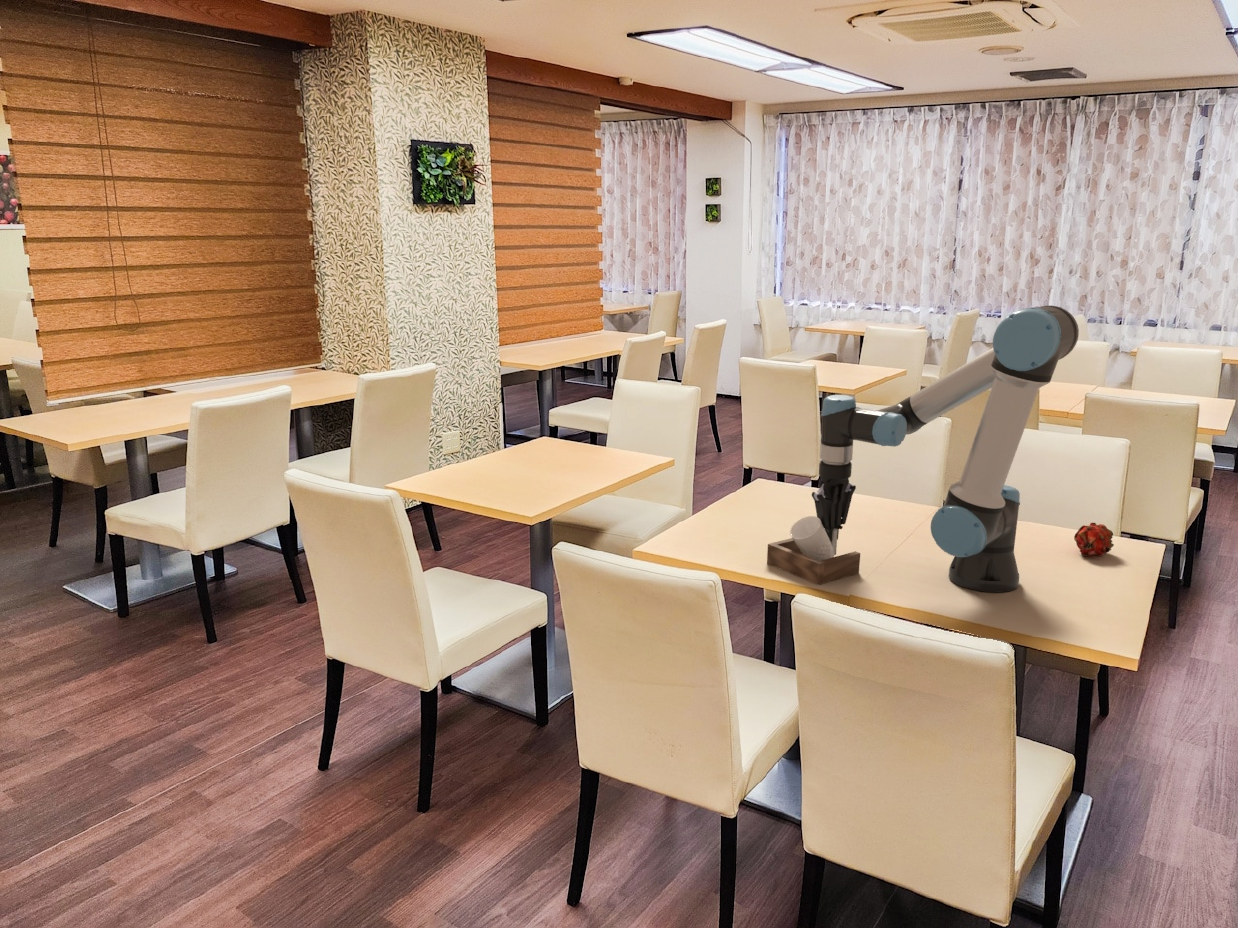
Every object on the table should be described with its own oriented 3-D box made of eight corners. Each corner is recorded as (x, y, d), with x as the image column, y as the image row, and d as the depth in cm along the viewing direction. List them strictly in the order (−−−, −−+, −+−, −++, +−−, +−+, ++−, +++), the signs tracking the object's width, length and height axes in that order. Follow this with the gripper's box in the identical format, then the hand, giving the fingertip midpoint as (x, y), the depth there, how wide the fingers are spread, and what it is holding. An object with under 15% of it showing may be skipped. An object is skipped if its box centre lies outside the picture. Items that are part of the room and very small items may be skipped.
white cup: (837, 563, 220) (820, 532, 216) (806, 572, 223) (789, 542, 219) (837, 542, 226) (820, 512, 222) (806, 551, 230) (790, 521, 225)
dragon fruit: (1101, 553, 238) (1087, 572, 230) (1073, 530, 241) (1059, 548, 232) (1125, 533, 233) (1112, 552, 224) (1097, 510, 235) (1083, 527, 227)
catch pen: (858, 573, 219) (860, 553, 218) (818, 584, 212) (819, 564, 211) (806, 553, 233) (807, 534, 232) (766, 563, 226) (767, 543, 224)
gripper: (842, 452, 227) (837, 543, 233) (805, 461, 220) (800, 554, 227) (866, 459, 221) (860, 552, 227) (828, 468, 214) (823, 563, 221)
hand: (830, 553), depth 227 cm, fingers closed
